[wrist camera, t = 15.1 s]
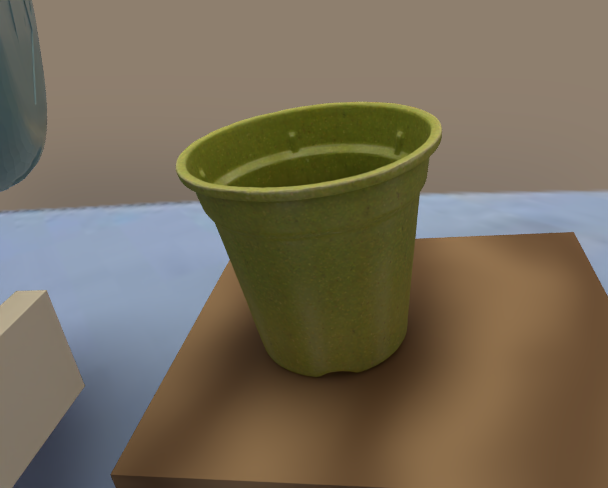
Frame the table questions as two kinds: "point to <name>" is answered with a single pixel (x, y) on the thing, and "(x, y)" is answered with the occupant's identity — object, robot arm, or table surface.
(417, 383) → the walnut board
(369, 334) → the plant pot
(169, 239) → the table surface
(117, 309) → the table surface
